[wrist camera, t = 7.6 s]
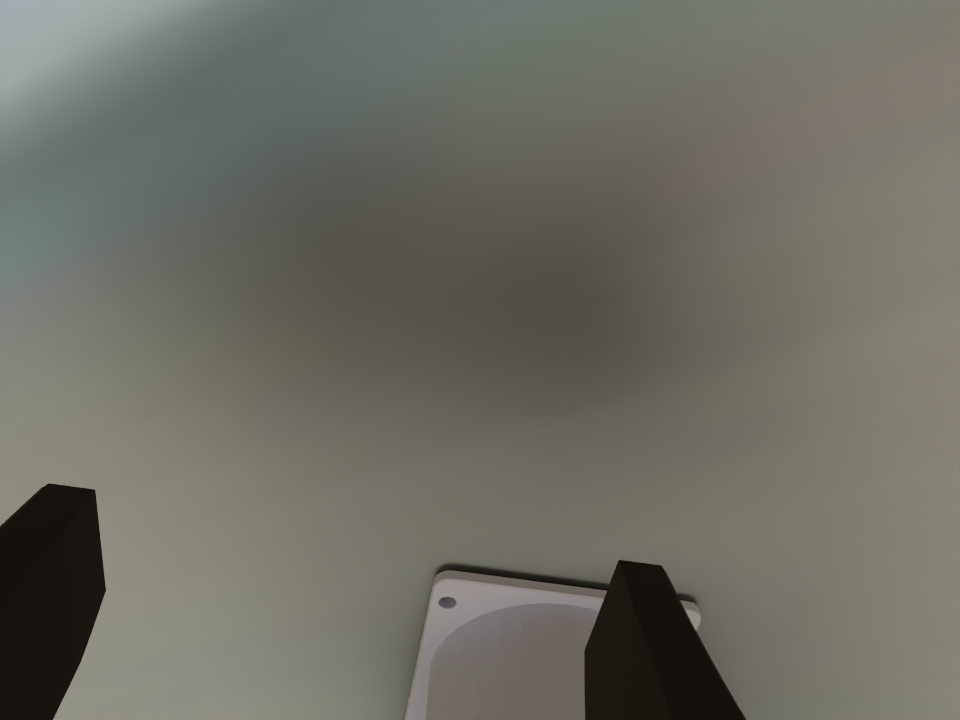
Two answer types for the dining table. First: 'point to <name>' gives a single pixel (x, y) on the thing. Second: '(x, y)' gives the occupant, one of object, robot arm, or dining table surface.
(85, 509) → the robot arm
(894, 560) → the dining table surface
